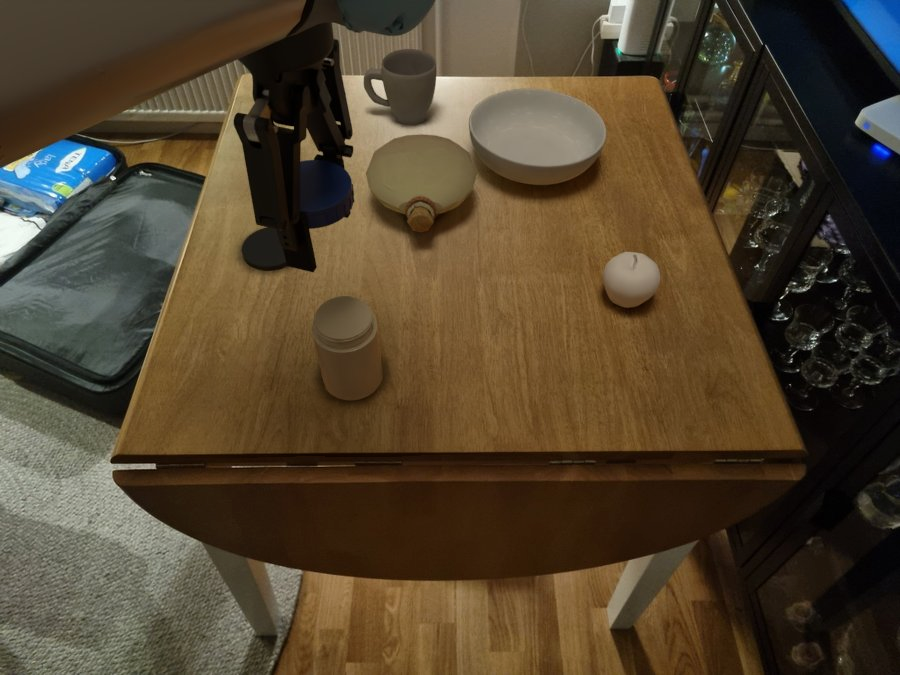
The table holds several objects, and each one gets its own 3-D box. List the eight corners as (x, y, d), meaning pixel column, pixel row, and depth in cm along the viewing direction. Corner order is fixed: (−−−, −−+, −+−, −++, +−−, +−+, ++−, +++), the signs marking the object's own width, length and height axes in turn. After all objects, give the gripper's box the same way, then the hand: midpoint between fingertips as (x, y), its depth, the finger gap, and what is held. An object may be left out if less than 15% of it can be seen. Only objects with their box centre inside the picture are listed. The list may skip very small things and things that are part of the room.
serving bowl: (551, 222, 94) (558, 184, 89) (440, 166, 102) (440, 127, 97) (622, 157, 104) (632, 119, 99) (516, 111, 113) (520, 73, 107)
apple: (589, 282, 87) (601, 237, 80) (639, 275, 88) (654, 230, 81) (608, 321, 82) (622, 277, 76) (660, 313, 83) (678, 268, 77)
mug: (437, 102, 114) (437, 49, 106) (434, 131, 108) (434, 77, 101) (369, 100, 114) (365, 46, 106) (363, 128, 108) (357, 74, 101)
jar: (347, 411, 73) (336, 354, 65) (311, 374, 76) (296, 315, 68) (394, 377, 76) (390, 318, 68) (357, 343, 79) (349, 282, 71)
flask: (473, 171, 101) (478, 254, 90) (371, 170, 101) (364, 254, 90) (476, 119, 94) (481, 203, 83) (366, 118, 93) (357, 203, 83)
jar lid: (369, 208, 59) (368, 190, 58) (296, 241, 57) (292, 223, 55) (328, 167, 63) (325, 149, 62) (257, 196, 60) (252, 178, 59)
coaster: (263, 279, 86) (262, 275, 85) (231, 248, 89) (230, 244, 89) (313, 251, 89) (312, 247, 89) (280, 222, 93) (279, 218, 92)
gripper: (290, -63, 52) (327, 170, 70) (144, 56, 40) (234, 303, 58) (376, -51, 51) (392, 184, 69) (253, 76, 39) (310, 322, 57)
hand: (320, 238), depth 63 cm, fingers closed on jar lid, 7 cm apart
